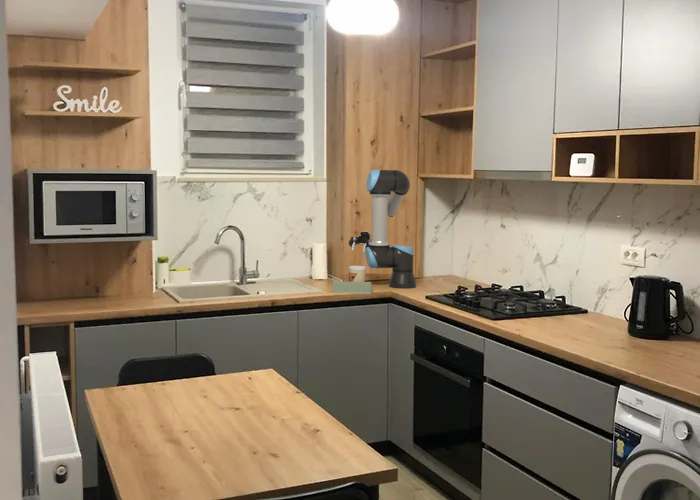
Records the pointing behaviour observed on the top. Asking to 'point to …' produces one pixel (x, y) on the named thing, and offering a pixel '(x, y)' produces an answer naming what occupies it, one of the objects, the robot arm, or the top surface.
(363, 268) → the coffee cup
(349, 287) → the green rectangular box
